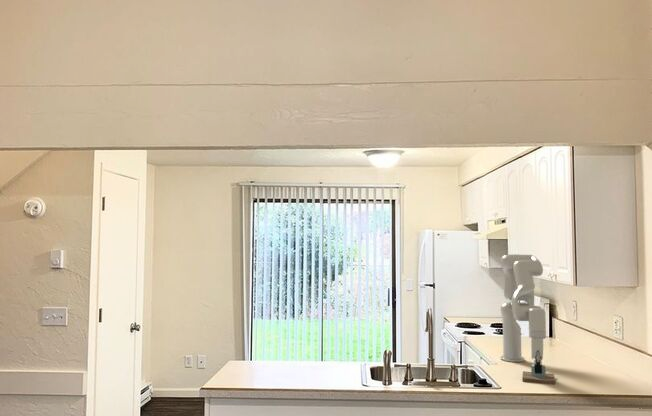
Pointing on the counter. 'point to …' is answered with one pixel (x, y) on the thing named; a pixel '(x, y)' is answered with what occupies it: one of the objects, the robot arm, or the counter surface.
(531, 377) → the brown flat square piece
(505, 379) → the counter surface
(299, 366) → the counter surface
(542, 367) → the cap
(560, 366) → the counter surface
